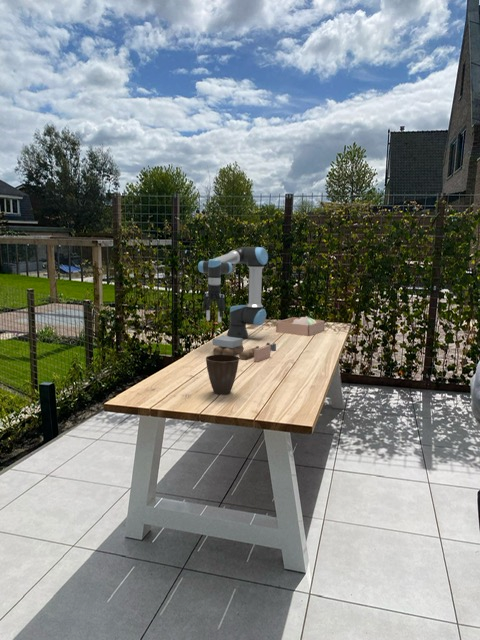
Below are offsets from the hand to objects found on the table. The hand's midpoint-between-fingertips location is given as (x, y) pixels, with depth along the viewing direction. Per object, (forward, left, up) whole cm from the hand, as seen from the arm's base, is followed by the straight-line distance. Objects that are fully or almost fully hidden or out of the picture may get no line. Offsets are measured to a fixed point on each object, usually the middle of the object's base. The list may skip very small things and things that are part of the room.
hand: (213, 321), depth 304 cm
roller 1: (0, +8, -19) cm, 21 cm away
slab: (0, +11, -14) cm, 17 cm away
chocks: (0, +17, -19) cm, 25 cm away
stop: (0, +35, -19) cm, 40 cm away
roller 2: (0, +15, -19) cm, 24 cm away
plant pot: (+68, +52, -19) cm, 88 cm away
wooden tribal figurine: (-102, +13, -19) cm, 105 cm away
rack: (-18, +28, -19) cm, 38 cm away
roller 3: (0, +26, -19) cm, 32 cm away
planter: (-101, +14, -19) cm, 103 cm away
